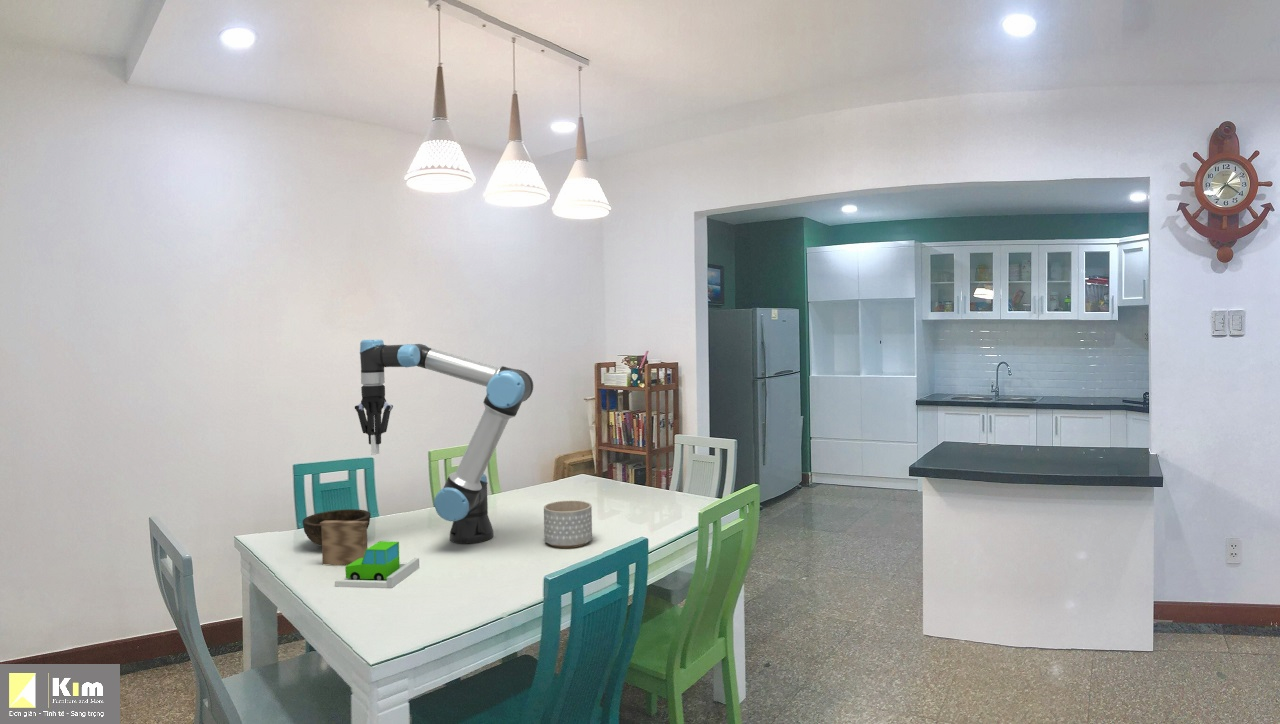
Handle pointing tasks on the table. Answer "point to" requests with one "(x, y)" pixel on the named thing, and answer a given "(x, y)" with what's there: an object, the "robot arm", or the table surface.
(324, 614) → the table surface
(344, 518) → the bowl
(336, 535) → the brown textured panel
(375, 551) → the toy car
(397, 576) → the bay
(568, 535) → the planter
